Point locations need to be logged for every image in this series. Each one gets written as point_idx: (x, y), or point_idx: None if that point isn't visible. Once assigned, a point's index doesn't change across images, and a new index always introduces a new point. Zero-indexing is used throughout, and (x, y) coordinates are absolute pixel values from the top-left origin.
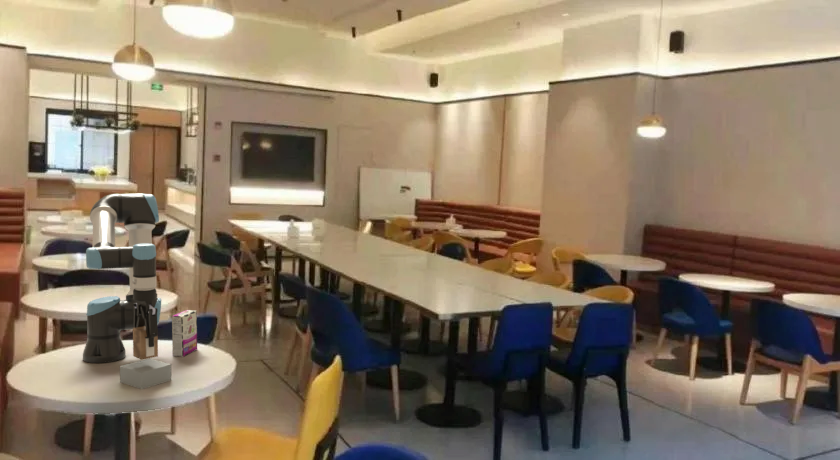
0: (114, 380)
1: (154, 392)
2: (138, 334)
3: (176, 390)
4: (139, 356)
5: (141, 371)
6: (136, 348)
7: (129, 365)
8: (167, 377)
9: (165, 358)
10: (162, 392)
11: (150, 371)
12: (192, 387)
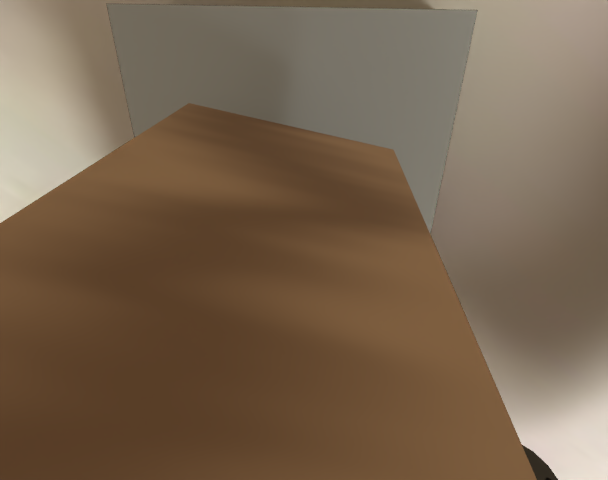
0: (510, 12)
1: (45, 13)
2: (86, 326)
3: (6, 130)
4: (224, 120)
5: (146, 31)
6: (300, 170)
7: (407, 93)
8: None
9: (513, 417)
10: (15, 49)
11: (135, 109)
12: (9, 213)
